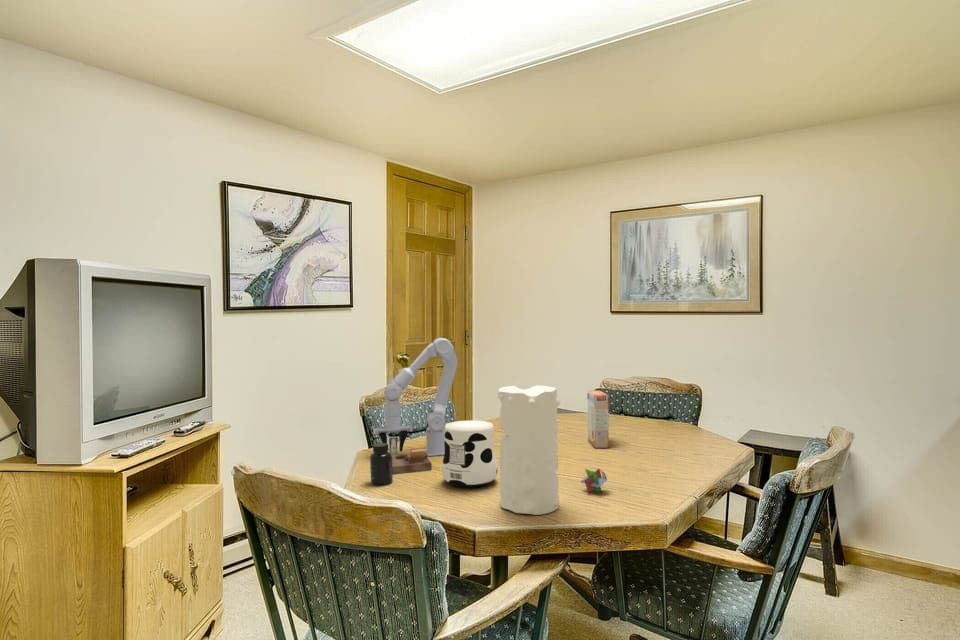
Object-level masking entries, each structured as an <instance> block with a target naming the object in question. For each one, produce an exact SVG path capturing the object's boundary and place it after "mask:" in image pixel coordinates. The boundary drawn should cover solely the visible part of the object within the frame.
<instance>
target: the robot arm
mask: <svg viewBox="0 0 960 640" xmlns="http://www.w3.org/2000/svg"><path fill="white" fill-rule="evenodd" d="M438 356H439V357H440V359H441V361H442V362H443V363H444V365H443V368H442V371H441V376H440V379H439V383H438V387H437V390H436V393H435V394H436V395H435V397H434V402H433V404H432V405H431V408H430V411H429V412H428V413H427V415H426V418H425V419H426V423H427V424H428V426H427V427H426V430H425V432H426V434H425V435H426V439H425V440H426V453H425V455H427V457H432V456H433V457H435V456H444V453H445V445H444V438H445V434H444V431H445V425H446V419H445V416H446V410H447V409H446V408H447V403H448V400H449V396H450V392H451V389H452V386H453V381H454V379H455V374H456V370H457V367H458V358H457V355H456V351H455V346H454V345H453V344H452V343H451V341H450V340H449V339H447V338H444V337H437V338H434V340H433V342H430V343H429V344H428V345H427V346H426V347H425V348H424V349H423V350H422V352H421V353H420V354H419V355H417V357H416V359H414V361H413V362H412V363H411V364H410V365H409V367H403V368H402V369H401V368H400V369H399V370H398V374H397V375H395V376H394V378H393V379H391V380H390V381H389V382H390V383H388V384H387V385H386V386H385V388H384V391H383V392H384V393H383V394H384V395H385V399H384V402H385V403H384V422H385V423H384V425H385V426H383V427H375V428H373V431H372V432H373V435H377V434H378V436H379V438H380V441H381V443H387V444H388V442H387V441H388V436H387V434H392V433H398V436H399V451H400V452H401V453H402V452H403V449H404V445H405V442H406V439H407V438H408V434H409V433H408V432H413V431H414V430H413V428H414V427H413V425H410V424H409V425H401V421H402V420H401V402H400V397H401V395H402V392H403V391H405V390H406V388H407V387H408V386H409V385H410V384H411V383H412V382H413V381H414V380H415V378H416V373H417V371H418V370H420V369H421V368H422V366H424V365H425V364H426V363H427V361H428V360H429V359H431V358H435V357H438Z"/></svg>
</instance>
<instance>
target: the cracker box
mask: <svg viewBox="0 0 960 640" xmlns="http://www.w3.org/2000/svg"><path fill="white" fill-rule="evenodd" d="M586 395H587V441H588V442H589V443H590V444H591V446H593V448H594V449H609V448H610V445H609V443H610V441H609V439H610V438H609V436H610V435H609V433H610V431H609V425H610V424H609V394H607V393H606V392H603V391H602V390H587V394H586Z"/></svg>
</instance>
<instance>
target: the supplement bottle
mask: <svg viewBox="0 0 960 640" xmlns="http://www.w3.org/2000/svg"><path fill="white" fill-rule="evenodd" d="M372 452H373V453H371V455H370V457H369V466H370V469H369V471H370V473H369V474H370V484H371V485H373V486H378V487H379V486H388V485H390V484H392V483H393V477H394V476H393V475H394V474H393V473H392V455H391V453H389V443H388V442H387V443H382V442H381V443H379V442H378V443H375V444H373V445H372Z"/></svg>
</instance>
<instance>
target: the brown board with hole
mask: <svg viewBox="0 0 960 640" xmlns="http://www.w3.org/2000/svg"><path fill="white" fill-rule="evenodd" d="M410 453H411V452H407V453H397V454H395V455H392V473H393V475H398V474H409V473H417V472H416V471H419V472H426V471H425V470H428V471H432V470H433V468H432V465H433V464H432V461H431V460H429V458H428V455H427V454H425V456H424V459H417V460H409V456H410Z"/></svg>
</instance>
